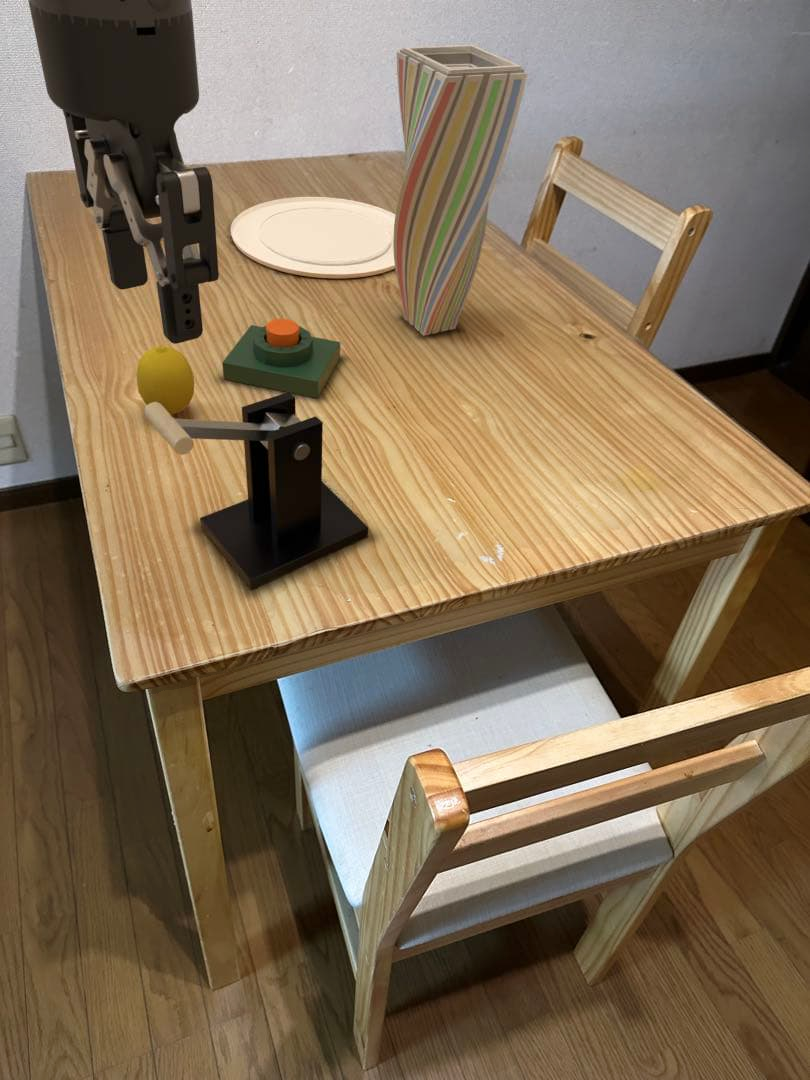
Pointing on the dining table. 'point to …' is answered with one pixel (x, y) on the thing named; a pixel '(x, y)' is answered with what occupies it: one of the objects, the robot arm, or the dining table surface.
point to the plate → (317, 237)
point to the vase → (448, 172)
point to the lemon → (165, 378)
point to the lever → (212, 428)
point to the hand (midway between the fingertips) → (156, 310)
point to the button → (282, 333)
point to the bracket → (282, 503)
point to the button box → (282, 362)
